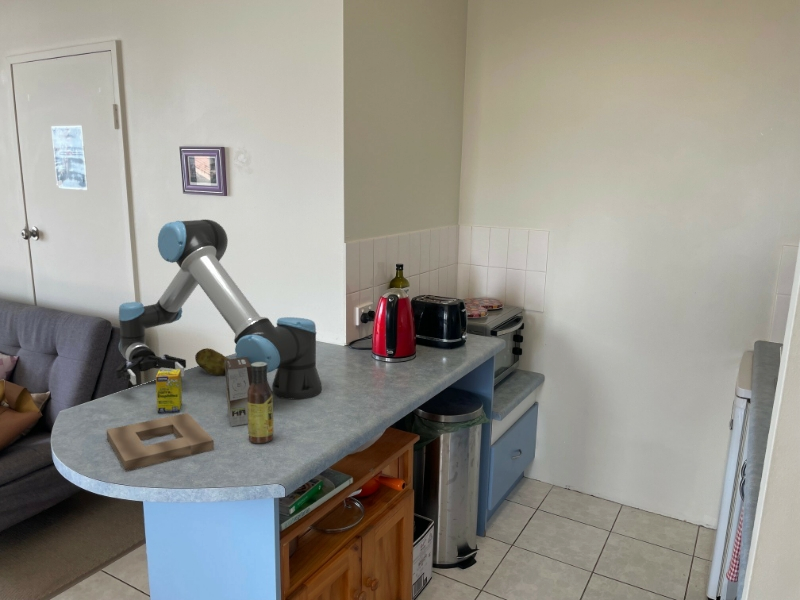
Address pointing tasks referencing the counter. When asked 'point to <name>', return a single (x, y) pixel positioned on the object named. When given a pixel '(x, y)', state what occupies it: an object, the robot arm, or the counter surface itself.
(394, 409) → the counter surface
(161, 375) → the supplement box
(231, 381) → the coffee box
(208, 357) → the potato
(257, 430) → the sauce bottle
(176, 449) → the socket board
